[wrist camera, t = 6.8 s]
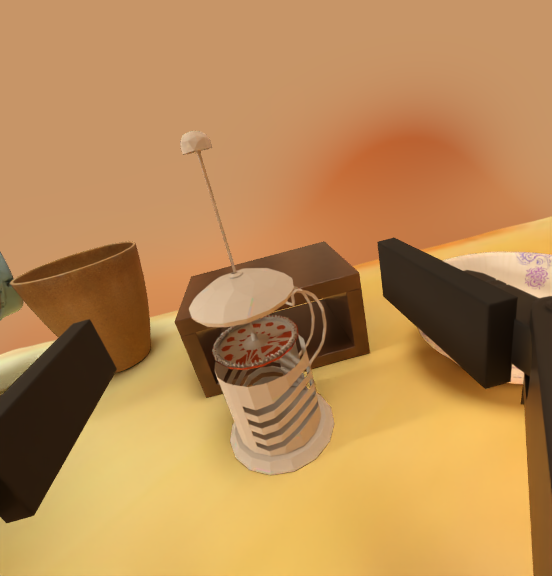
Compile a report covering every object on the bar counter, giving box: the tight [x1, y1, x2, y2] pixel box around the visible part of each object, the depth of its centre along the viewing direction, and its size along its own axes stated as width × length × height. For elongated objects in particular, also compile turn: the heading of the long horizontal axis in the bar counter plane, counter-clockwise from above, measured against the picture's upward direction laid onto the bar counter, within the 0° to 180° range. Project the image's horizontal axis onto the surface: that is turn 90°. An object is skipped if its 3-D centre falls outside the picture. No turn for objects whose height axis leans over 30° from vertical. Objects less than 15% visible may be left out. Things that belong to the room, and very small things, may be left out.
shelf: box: [175, 242, 370, 398], centre depth 39 cm, size 19×13×10 cm
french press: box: [181, 131, 334, 475], centre depth 24 cm, size 10×12×25 cm
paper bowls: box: [417, 252, 552, 384], centre depth 29 cm, size 15×15×8 cm
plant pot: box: [10, 241, 150, 373], centre depth 44 cm, size 15×15×16 cm
